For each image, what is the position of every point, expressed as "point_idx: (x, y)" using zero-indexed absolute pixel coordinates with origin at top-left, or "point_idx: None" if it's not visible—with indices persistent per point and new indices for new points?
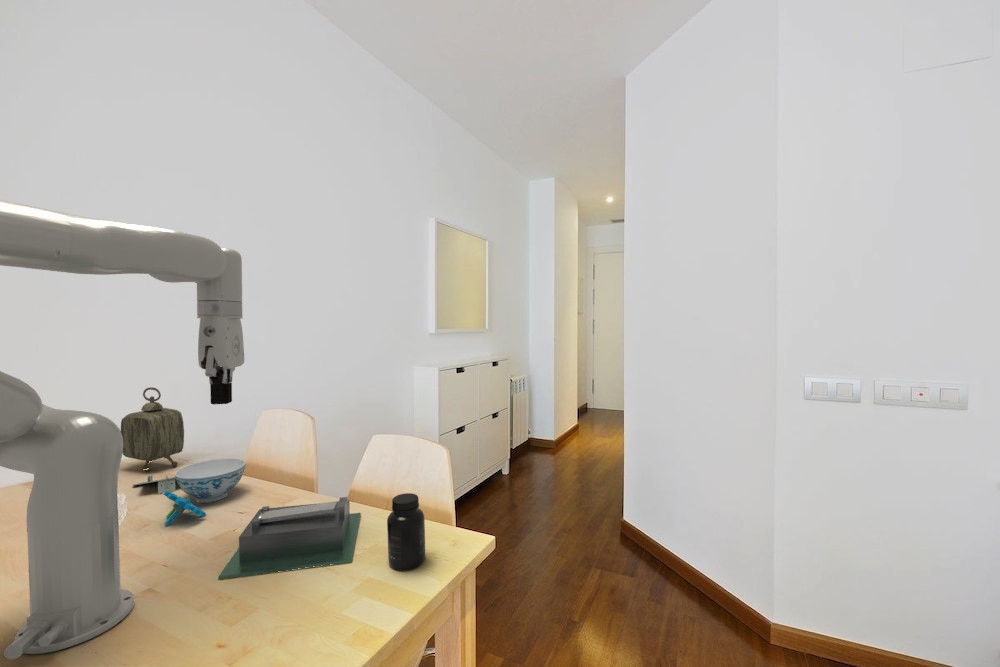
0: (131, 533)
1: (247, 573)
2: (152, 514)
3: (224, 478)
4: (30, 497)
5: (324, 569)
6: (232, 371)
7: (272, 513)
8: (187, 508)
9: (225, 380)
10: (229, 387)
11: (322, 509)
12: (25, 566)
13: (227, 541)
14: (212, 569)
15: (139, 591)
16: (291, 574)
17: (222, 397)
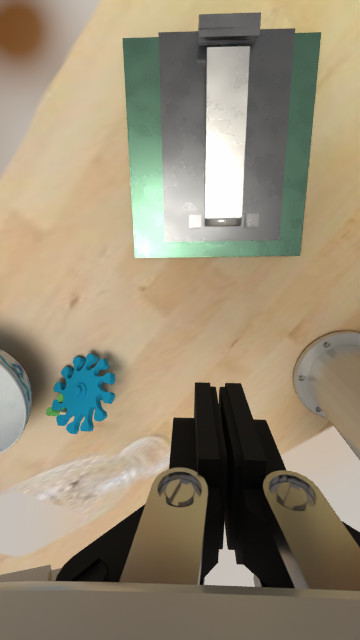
0: (125, 429)
1: (303, 215)
2: (62, 433)
3: (6, 362)
4: None
5: (323, 88)
6: (133, 562)
7: (221, 199)
8: (114, 377)
9: (303, 498)
10: (242, 436)
11: (243, 79)
12: None
13: (182, 285)
14: (265, 274)
15: (292, 343)
16: (319, 145)
17: (265, 424)
